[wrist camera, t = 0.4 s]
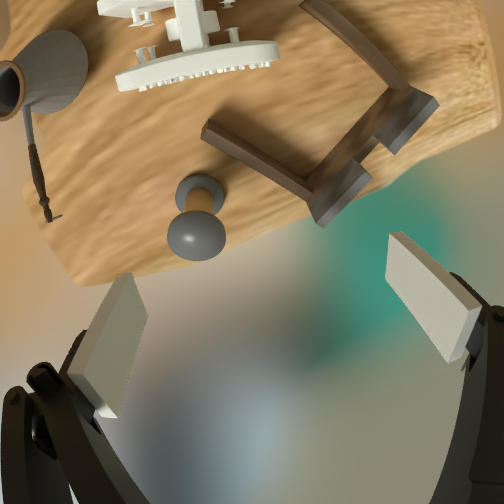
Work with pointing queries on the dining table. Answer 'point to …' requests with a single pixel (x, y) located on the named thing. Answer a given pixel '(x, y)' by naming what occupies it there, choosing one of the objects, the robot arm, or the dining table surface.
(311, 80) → the dining table surface
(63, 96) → the coffee pot
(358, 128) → the notched bay
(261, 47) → the cable organizer
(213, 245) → the mushroom drawer knob
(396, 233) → the robot arm
